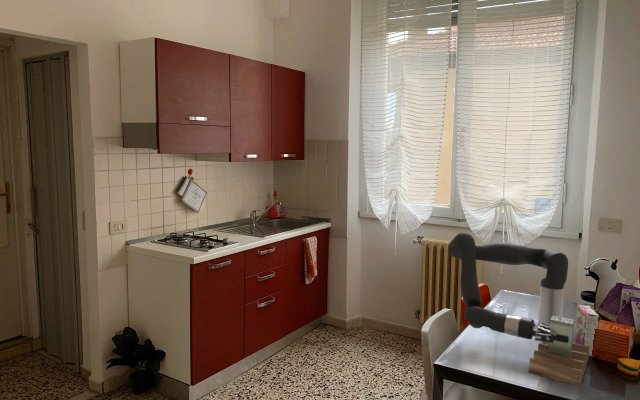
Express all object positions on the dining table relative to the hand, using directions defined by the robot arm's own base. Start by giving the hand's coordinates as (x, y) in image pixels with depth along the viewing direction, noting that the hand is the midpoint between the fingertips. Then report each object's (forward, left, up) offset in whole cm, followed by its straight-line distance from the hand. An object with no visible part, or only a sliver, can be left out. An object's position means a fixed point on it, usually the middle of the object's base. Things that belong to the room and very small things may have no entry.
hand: (569, 337), depth 173 cm
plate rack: (0, -3, -11) cm, 11 cm away
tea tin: (0, -3, -8) cm, 8 cm away
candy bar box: (-20, +3, -11) cm, 23 cm away
